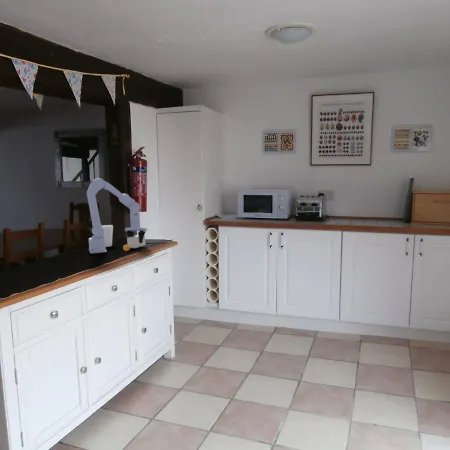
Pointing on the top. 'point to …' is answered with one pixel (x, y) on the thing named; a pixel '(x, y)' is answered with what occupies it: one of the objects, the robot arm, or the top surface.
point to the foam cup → (108, 234)
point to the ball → (126, 247)
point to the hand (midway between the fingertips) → (136, 242)
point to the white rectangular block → (135, 241)
